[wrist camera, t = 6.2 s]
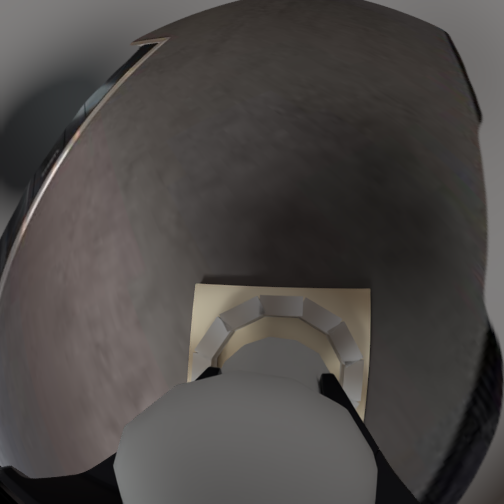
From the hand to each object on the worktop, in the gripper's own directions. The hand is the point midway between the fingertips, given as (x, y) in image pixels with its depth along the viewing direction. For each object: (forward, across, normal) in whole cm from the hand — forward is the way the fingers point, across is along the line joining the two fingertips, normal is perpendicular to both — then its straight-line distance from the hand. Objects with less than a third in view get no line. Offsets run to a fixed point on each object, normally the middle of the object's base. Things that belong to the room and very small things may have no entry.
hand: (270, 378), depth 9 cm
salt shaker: (+4, 0, +6) cm, 7 cm away
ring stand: (+6, 0, +7) cm, 9 cm away
